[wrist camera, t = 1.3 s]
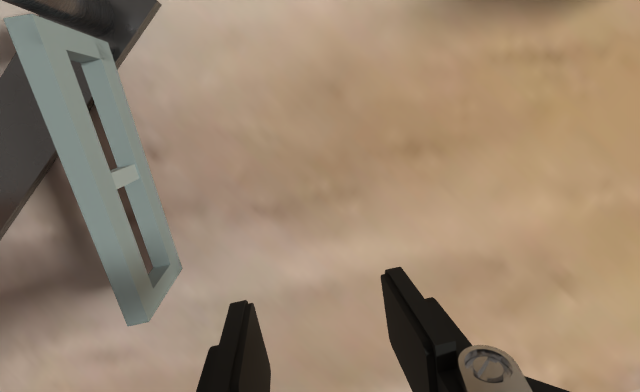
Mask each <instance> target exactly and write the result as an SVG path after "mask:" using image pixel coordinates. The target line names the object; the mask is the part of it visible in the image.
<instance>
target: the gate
mask: <svg viewBox="0 0 640 392" xmlns="http://www.w3.org/2000/svg"><path fill="white" fill-rule="evenodd" d="M3 19H4V22H5V24H6V27H7V29H8V32H9V34H10V36H11V39H12V41H13V44H14V46H15V49H16V51H17V54H18V56H19V59H20V61H21V64H22V66H23V69H24V71H25V74H26V76H27V79H28V81H29V83H30V86H31V88H32V91H33V93H34V96H35V98H36V101H37V103H38V106H39V108H40V111H41V113H42V116H43V118H44V121H45V123H46V126H47V128H48V130H49V133H50V135H51V138H52V140H53V143H54V145H55V148H56V150H57V153H58V155H59V158H60V160H61V163H62V165H63V168H64V170H65V173H66V175H67V178H68V180H69V182H70V185H71V187H72V190H73V192H74V195H75V197H76V200H77V202H78V205H79V207H80V210H81V212H82V215H83V217H84V220H85V222H86V225H87V227H88V229H89V232H90V234H91V237H92V239H93V242H94V244H95V247H96V249H97V252H98V254H99V257H100V259H101V262H102V264H103V267H104V269H105V272H106V274H107V276H108V279H109V281H110V284H111V286H112V289H113V291H114V294H115V296H116V299H117V301H118V304H119V306H120V309H121V311H122V314H123V316H124V319H125V321H126V324H127V326H132V325H137V324H141V323H146V322H149V321H150V319H151V318H152V316H153V315H154V313H155V311H156V310H157V308H158V307H159V305H160V303H161V302H162V300H163V299H164V297H165V295H166V294H167V292H168V291H169V289H170V288H171V286H172V284H173V283H174V281H175V280H176V278H177V276H178V275H179V273H180V272H181V270H182V266H181V263H180V260H179V257H178V254H177V251H176V248H175V245H174V242H173V239H172V236H171V233H170V230H169V227H168V223H167V220H166V217H165V214H164V211H163V208H162V205H161V202H160V199H159V196H158V193H157V190H156V187H155V184H154V181H153V178H152V175H151V172H150V169H149V166H148V163H147V160H146V157H145V154H144V150H143V147H142V144H141V141H140V138H139V135H138V132H137V129H136V126H135V123H134V120H133V117H132V114H131V111H130V108H129V105H128V102H127V99H126V96H125V93H124V90H123V87H122V84H121V81H120V77H119V74H118V71H117V68H116V65H115V62H114V59H113V56H112V53H111V50H110V47H109V44H108V42H106V41H103V40H100V39H98V38H95V37H92V36H90V35H87V34H84V33H82V32H79V31H76V30H74V29H71V28H68V27H66V26H63V25H60V24H58V23H55V22H52V21H50V20H47V19H44V18H42V17H39V16H36V15H34V14H27V15H21V16H15V17H8V18H3ZM70 60H71V61H75V62H80V63H81V66H82V69H83V72H84V75H85V77H86V80H87V83H88V86H89V89H90V91H91V94H92V97H93V100H94V103H95V105H96V108H97V111H98V114H99V117H100V120H101V122H102V125H103V128H104V131H105V134H106V136H107V139H108V142H109V145H110V148H111V150H112V153H113V156H114V159H115V162H116V164H117V167H118V168H115V169H112V170H110V169H109V166H108V163H107V161H106V158H105V155H104V152H103V150H102V147H101V144H100V141H99V139H98V136H97V133H96V130H95V128H94V125H93V122H92V119H91V117H90V114H89V111H88V108H87V106H86V103H85V100H84V97H83V95H82V92H81V89H80V87H79V84H78V81H77V78H76V76H75V73H74V70H73V67H72V65H71V62H70ZM123 186H124V187H125V190H126V192H127V195H128V198H129V201H130V204H131V206H132V209H133V212H134V215H135V218H136V221H137V223H138V226H139V229H140V232H141V235H142V237H143V240H144V243H145V246H146V249H147V251H148V254H149V257H150V260H151V263H152V265H153V269H152V270H151V272H150V273H149V274H148V273H147V271H146V268H145V265H144V262H143V260H142V257H141V254H140V251H139V249H138V246H137V243H136V240H135V238H134V235H133V232H132V229H131V227H130V224H129V221H128V218H127V216H126V213H125V210H124V207H123V205H122V202H121V199H120V196H119V194H118V191H117V189H119V188H121V187H123Z"/></svg>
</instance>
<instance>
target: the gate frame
mask: <svg viewBox="0 0 640 392" xmlns="http://www.w3.org/2000/svg"><path fill="white" fill-rule="evenodd" d="M2 1H5V2H7V3H10V4H13V5H15V6H18V7H20V8H23V9H26V10H28V11H31V12H34V13H36V14H39V15H40V16H39V17H42V18H44V19H47V20H50V21H52V22H55V23H58V24H60V25H63V26H66V27H68V28H71V29H74V30H76V31H79V32H82V33H84V34H87V35H90V36H92V37H95V38H98V39H100V40H103V41H106V42H108V44H109V47H110V50H111V53H112V56H113V59H114V62H115V65H116V68H117V69H118V68H119V66H120V65H121V64H122V62H123V61H124V59H125V58H126V56H127V55H128V53H129V52H130V50H131V49H132V48H133V46H134V45H135V43H136V42H137V40H138V39H139V37H140V36H141V34H142V33H143V31H144V30H145V29H146V27H147V26H148V24H149V23H150V21H151V20H152V18H153V17H154V15H155V14H156V13H157V11H158V10H159V8H160V7H161V4H160V3H159V2H158V1H157V0H2ZM70 62H71V65H72V67H73V70H74V73H75V76H76V78H77V81H78V84H79V87H80V89H81V92H82V95H83V97H84V100H85V103H86V106H87V108H88V111H89V110H90V109H91V107H92V106H93V104H94V100H93V97H92V94H91V91H90V89H89V86H88V83H87V80H86V77H85V75H84V72H83V69H82V66H81V63H80V62H75V61H71V60H70ZM57 157H58V153H57V150H56V148H55V145H54V143H53V140H52V138H51V135H50V133H49V130H48V128H47V126H46V123H45V121H44V118H43V116H42V113H41V111H40V108H39V106H38V103H37V101H36V98H35V96H34V93H33V91H32V88H31V86H30V83H29V81H28V79H27V76H26V74H25V71H24V69H23V66H22V64H21V61H20V59H19V56H18V54H17V52H16V54H15V55H14V57H13V58H12V60H11V62H10V63H9V65H8V66H7V68H6V70H5V71H4V73H3V74H2V76H1V78H0V240H1V239H2V237H3V236H4V234H5V233H6V231H7V230H8V228H9V227H10V225H11V224H12V222H13V221H14V220H15V218H16V217H17V215H18V214H19V212H20V211H21V209H22V208H23V206H24V205H25V204H26V202H27V201H28V199H29V198H30V196H31V195H32V193H33V192H34V190H35V189H36V187H37V186H38V185H39V183H40V182H41V180H42V179H43V177H44V176H45V174H46V173H47V171H48V170H49V169H50V167H51V166H52V164H53V163H54V161H55V160H56V158H57Z"/></svg>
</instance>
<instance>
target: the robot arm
mask: <svg viewBox="0 0 640 392" xmlns="http://www.w3.org/2000/svg"><path fill="white" fill-rule="evenodd" d="M381 283H382V290H383V297H384V305H385V312H386V319H387V326H388V333H389V339H390V342H391V345H392V348H393V350H394V352H395V354H396V356H397V359H398V361H399V363H400V365H401V367H402V369H403V372H404V374H405V376H406V378H407V380H408V383H409V385H410V387H411V389H412V391H413V392H569V391H566V390H563V389H561V388H558V387H555V386H552V385H549V384H546V383H543V382H540V381H537V380H534V379H531V378H528V377H525V376H524V375H523V373H522V372H521V370H520V368H519V366H518V364H517V363H516V362H515V361H514V359H513V358H512V357H511V356H510V355H508V354H507V353H506V352H504V351H502V350H500V349H498V348H495V347H491V346H487V345H475V346H472V345H471V343H470V342H469V341H468V340H467V338H466V337H465V336H464V334H463V333H462V332H461V331H460V329H459V328H458V327H457V326H456V324H455V323H454V322H453V321H452V319H451V318H450V317H449V316H448V314H447V313H446V312H445V311H444V309H443V308H442V307H441V306H440V304H439V303H438V302H437V301H436V300H435V299H434V298H432V297H431V298H427V299H424V298H423V296H422V295H421V293H420V292H419V291H418V289H417V288H416V287H415V285H414V284H413V283H412V281H411V280H410V279H409V277H408V276H407V275H406V273H405V272H404V271H403V269H402V268H401V267H396V268H392V269H387V270H385V274H383V275H381ZM270 378H271V370H270V363H269V359H268V356H267V352H266V348H265V345H264V341H263V337H262V333H261V330H260V326H259V322H258V319H257V315H256V311H255V307H254V304H253V303H250V304H248V302H247V300H244V301H240V302H235V303H231V304H230V306H229V310H228V314H227V317H226V321H225V325H224V328H223V332H222V336H221V339H220V343H219V345H217V346H212V347H211V348H210V349H209V351H208V354H207V358H206V361H205V364H204V367H203V371H202V374H201V377H200V380H199V384H198V387H197V390H196V392H270Z"/></svg>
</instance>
